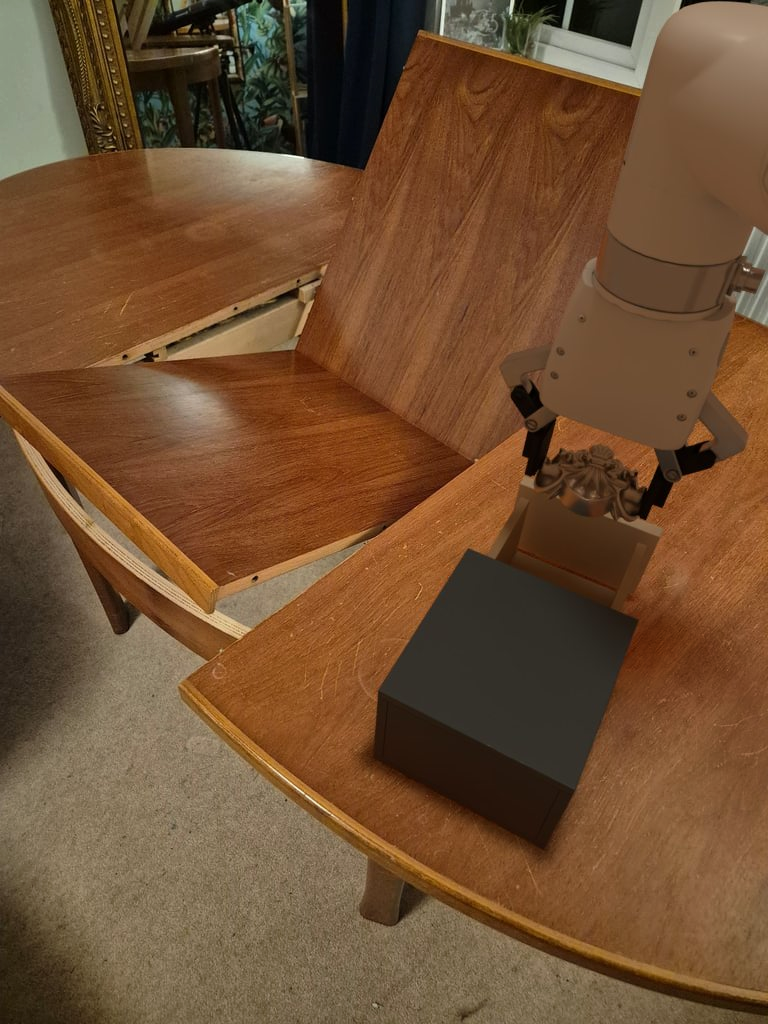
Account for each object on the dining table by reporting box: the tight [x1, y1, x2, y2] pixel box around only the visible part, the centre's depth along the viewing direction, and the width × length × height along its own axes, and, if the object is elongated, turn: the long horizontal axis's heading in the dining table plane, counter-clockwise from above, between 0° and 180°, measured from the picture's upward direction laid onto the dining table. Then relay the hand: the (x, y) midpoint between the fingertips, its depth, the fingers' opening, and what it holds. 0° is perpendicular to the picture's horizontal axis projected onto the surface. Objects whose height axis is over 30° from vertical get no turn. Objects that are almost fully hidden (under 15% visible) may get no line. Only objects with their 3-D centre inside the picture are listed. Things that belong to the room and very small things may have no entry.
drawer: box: [485, 475, 664, 613], centre depth 63 cm, size 18×12×8 cm
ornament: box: [533, 443, 648, 522], centre depth 54 cm, size 8×7×4 cm
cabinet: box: [372, 547, 639, 850], centre depth 55 cm, size 15×14×10 cm
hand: (589, 485), depth 55 cm, fingers closed on ornament, 8 cm apart
